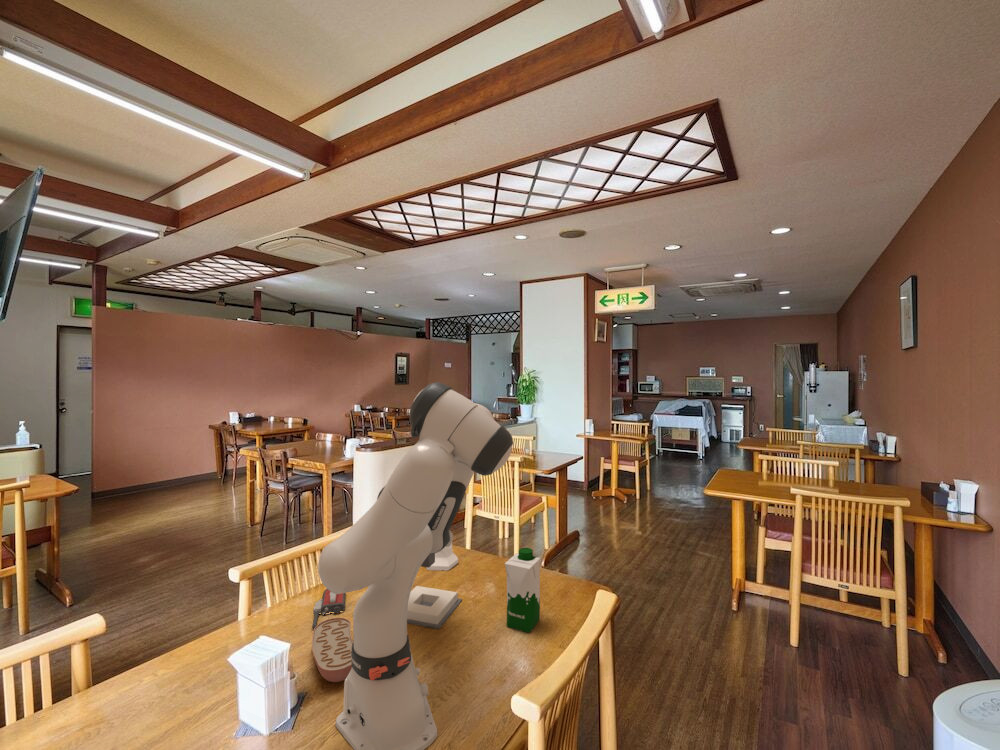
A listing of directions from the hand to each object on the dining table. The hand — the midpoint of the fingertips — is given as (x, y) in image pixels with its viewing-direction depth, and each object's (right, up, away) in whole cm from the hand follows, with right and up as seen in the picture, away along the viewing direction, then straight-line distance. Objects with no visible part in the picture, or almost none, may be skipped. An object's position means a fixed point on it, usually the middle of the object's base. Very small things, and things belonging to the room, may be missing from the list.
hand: (426, 545), depth 137 cm
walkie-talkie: (-29, -20, 0) cm, 35 cm away
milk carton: (+28, -19, -8) cm, 35 cm away
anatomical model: (-19, -20, -24) cm, 36 cm away
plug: (0, -5, -1) cm, 5 cm away
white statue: (+1, -19, +32) cm, 37 cm away
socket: (0, -19, 0) cm, 19 cm away
